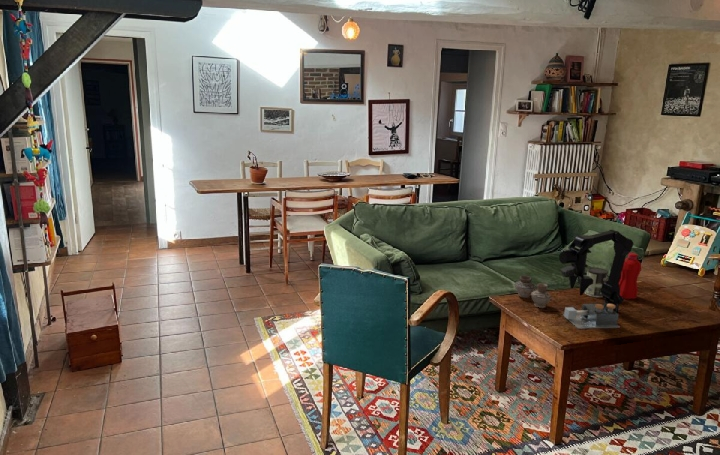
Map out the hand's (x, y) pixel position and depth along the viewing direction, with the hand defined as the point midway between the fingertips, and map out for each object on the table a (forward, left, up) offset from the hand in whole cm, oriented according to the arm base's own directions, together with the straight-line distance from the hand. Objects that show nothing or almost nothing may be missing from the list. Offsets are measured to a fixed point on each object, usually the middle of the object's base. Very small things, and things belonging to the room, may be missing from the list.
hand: (576, 291), depth 263 cm
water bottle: (-43, -23, -13) cm, 50 cm away
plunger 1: (-7, +10, -7) cm, 14 cm away
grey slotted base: (-6, +6, -13) cm, 16 cm away
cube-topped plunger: (-4, +4, -12) cm, 13 cm away
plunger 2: (-13, +10, -7) cm, 18 cm away
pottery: (+12, -21, -14) cm, 28 cm away
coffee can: (-28, -28, -13) cm, 42 cm away
